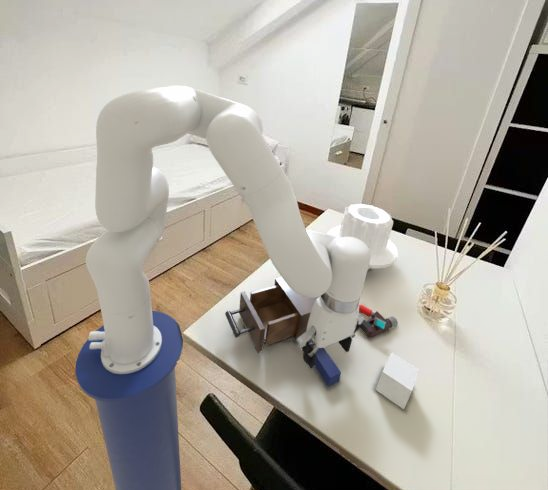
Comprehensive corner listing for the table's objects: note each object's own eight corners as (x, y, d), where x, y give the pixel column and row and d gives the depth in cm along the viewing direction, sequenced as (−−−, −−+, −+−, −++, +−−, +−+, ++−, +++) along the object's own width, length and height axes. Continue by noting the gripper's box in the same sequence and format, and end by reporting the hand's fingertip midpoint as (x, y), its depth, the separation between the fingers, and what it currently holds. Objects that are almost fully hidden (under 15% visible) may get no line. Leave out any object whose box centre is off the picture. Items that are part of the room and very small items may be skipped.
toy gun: (400, 327, 79) (405, 314, 78) (368, 342, 74) (372, 329, 72) (374, 302, 87) (378, 290, 85) (343, 314, 82) (347, 301, 80)
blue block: (338, 381, 64) (341, 372, 63) (327, 387, 63) (330, 378, 61) (316, 349, 71) (318, 340, 70) (306, 353, 69) (308, 344, 68)
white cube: (384, 369, 68) (391, 351, 65) (411, 387, 64) (419, 369, 62) (375, 389, 63) (382, 371, 61) (403, 409, 60) (412, 391, 58)
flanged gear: (395, 252, 113) (409, 209, 106) (389, 292, 92) (406, 242, 84) (333, 232, 122) (341, 191, 115) (314, 264, 101) (323, 217, 93)
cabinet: (296, 342, 72) (301, 315, 68) (271, 303, 83) (275, 278, 79) (342, 324, 78) (349, 298, 75) (314, 290, 89) (318, 266, 86)
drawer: (238, 360, 65) (239, 337, 62) (221, 319, 75) (221, 297, 72) (306, 334, 73) (310, 312, 71) (283, 299, 83) (286, 279, 81)
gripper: (359, 273, 65) (345, 328, 72) (293, 294, 57) (284, 354, 64) (385, 296, 59) (366, 354, 66) (314, 323, 51) (302, 385, 58)
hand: (326, 354), depth 65 cm, fingers open, 9 cm apart
